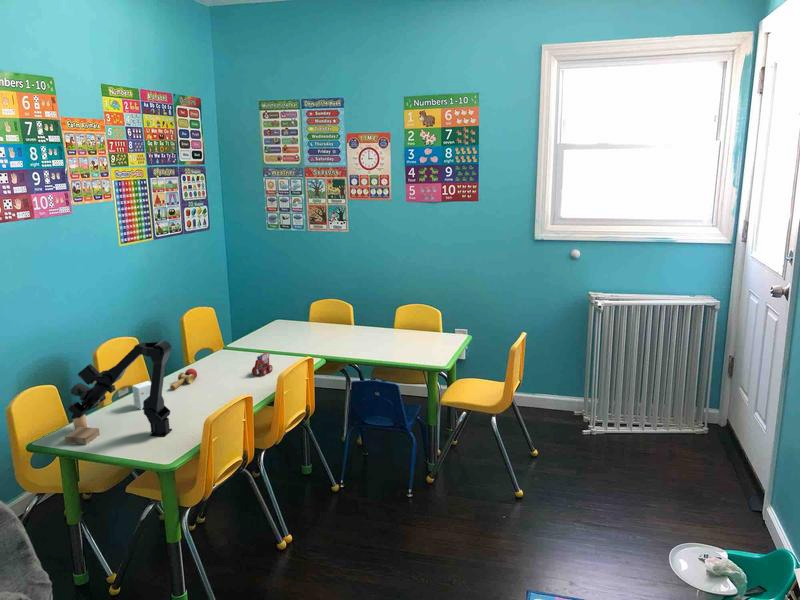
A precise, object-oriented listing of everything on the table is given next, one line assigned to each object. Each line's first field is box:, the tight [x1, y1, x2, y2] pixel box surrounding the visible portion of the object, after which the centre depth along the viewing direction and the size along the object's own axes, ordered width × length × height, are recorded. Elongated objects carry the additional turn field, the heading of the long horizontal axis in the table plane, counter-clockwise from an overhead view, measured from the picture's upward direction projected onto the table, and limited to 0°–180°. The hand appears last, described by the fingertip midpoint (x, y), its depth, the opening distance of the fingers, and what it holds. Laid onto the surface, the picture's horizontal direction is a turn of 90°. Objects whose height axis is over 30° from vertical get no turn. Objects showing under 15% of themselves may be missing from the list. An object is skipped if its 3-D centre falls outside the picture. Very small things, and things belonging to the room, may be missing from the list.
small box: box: [131, 380, 151, 410], centre depth 291 cm, size 8×6×10 cm
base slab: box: [64, 427, 101, 445], centre depth 258 cm, size 9×9×3 cm
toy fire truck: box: [251, 351, 273, 377], centre depth 331 cm, size 7×12×10 cm, turn 157°
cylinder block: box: [71, 403, 88, 431], centre depth 266 cm, size 5×5×11 cm
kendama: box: [169, 368, 198, 391], centre depth 318 cm, size 8×6×18 cm
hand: (76, 415), depth 266 cm, fingers closed on cylinder block, 5 cm apart
